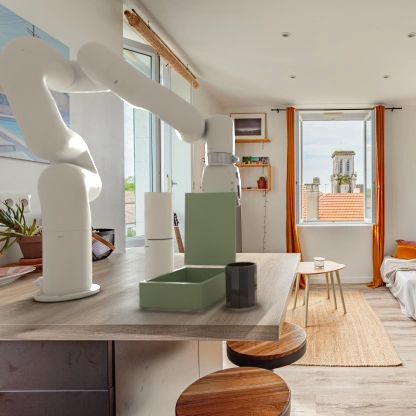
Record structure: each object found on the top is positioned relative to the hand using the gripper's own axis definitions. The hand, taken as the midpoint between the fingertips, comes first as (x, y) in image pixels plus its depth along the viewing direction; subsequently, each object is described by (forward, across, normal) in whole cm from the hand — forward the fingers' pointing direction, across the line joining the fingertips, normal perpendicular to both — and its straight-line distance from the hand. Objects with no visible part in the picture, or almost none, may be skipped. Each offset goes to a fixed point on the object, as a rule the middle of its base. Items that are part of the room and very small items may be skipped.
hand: (221, 228), depth 89 cm
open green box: (+15, 0, +16) cm, 22 cm away
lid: (0, 0, +7) cm, 7 cm away
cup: (+15, -13, +20) cm, 28 cm away
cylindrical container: (+15, +16, +4) cm, 23 cm away
